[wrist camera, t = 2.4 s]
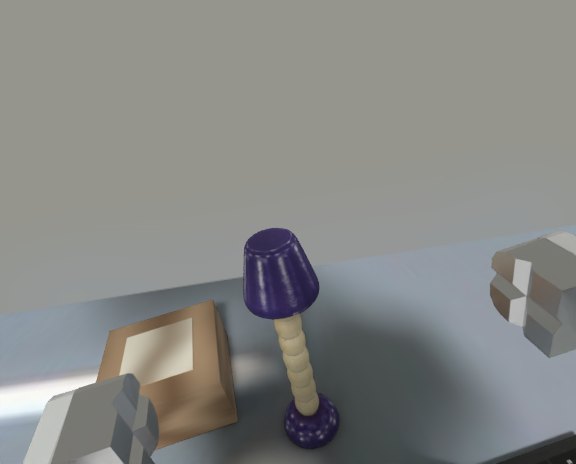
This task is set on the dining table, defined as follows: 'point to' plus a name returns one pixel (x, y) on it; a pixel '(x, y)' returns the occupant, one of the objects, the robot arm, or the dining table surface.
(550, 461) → the calculator
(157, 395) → the cardboard box
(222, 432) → the dining table surface
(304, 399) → the toy lamp
